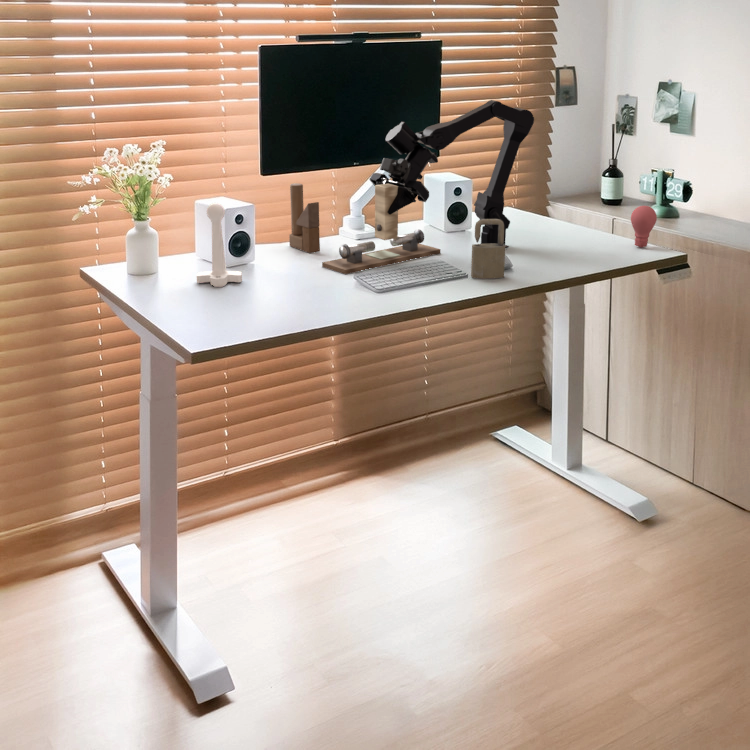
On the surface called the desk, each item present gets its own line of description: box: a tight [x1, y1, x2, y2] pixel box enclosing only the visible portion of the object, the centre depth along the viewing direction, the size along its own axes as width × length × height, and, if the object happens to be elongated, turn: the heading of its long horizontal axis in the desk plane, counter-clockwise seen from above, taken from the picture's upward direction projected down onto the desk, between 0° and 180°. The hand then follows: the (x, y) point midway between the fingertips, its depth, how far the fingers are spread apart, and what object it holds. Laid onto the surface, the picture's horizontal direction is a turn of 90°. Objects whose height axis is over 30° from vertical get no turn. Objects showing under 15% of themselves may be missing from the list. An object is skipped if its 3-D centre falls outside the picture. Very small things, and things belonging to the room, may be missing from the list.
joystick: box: [196, 202, 243, 288], centre depth 242 cm, size 11×8×20 cm
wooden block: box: [288, 182, 321, 254], centre depth 276 cm, size 4×11×18 cm, turn 36°
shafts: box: [338, 229, 425, 264], centre depth 266 cm, size 28×4×5 cm, turn 130°
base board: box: [321, 243, 441, 275], centre depth 267 cm, size 34×10×2 cm, turn 130°
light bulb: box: [630, 205, 658, 249], centre depth 278 cm, size 7×7×12 cm
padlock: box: [470, 219, 506, 280], centre depth 249 cm, size 4×8×15 cm, turn 94°
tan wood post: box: [374, 184, 399, 241], centre depth 261 cm, size 5×4×14 cm
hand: (382, 212), depth 260 cm, fingers closed on tan wood post, 5 cm apart
